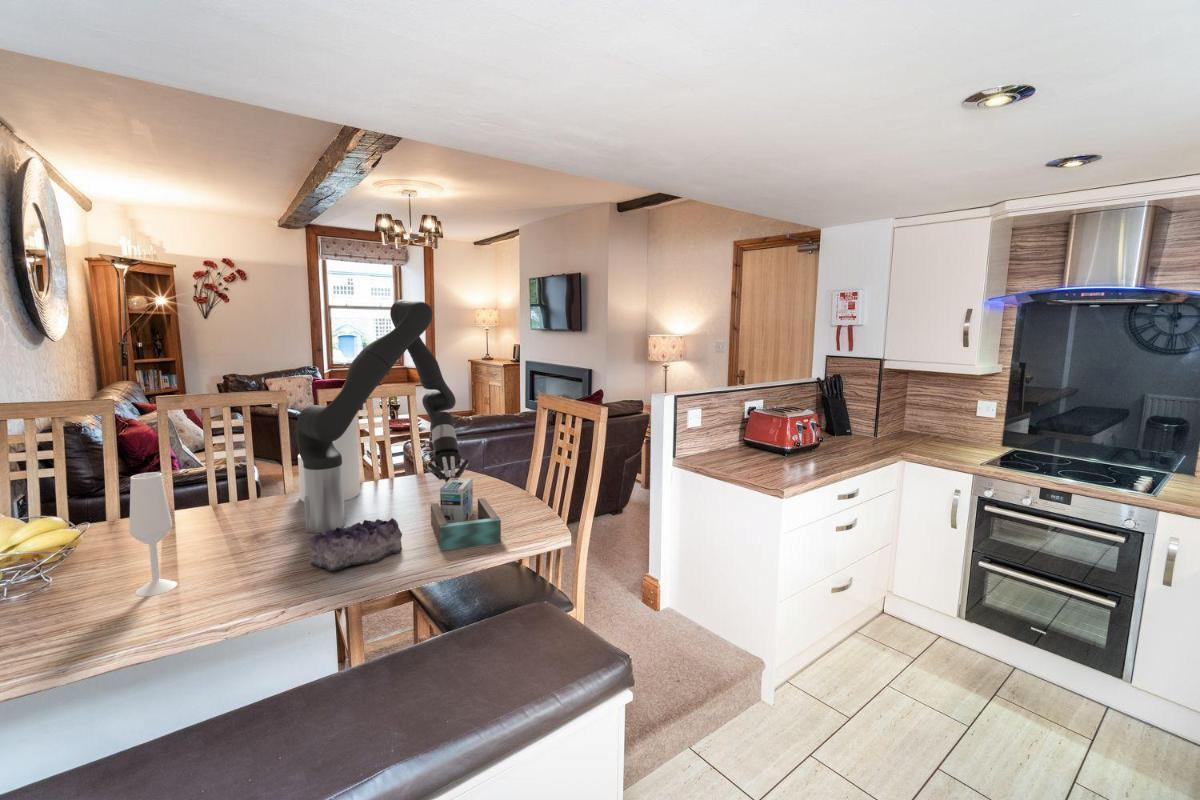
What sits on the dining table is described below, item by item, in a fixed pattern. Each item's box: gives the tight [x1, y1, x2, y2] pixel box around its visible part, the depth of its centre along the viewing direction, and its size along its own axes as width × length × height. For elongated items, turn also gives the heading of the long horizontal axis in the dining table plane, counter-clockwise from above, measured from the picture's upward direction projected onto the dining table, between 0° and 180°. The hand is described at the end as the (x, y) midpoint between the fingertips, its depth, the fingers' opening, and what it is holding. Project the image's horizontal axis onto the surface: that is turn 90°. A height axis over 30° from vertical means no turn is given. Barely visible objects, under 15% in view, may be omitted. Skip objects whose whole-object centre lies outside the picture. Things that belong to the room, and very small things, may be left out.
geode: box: [308, 517, 403, 572], centre depth 126 cm, size 20×12×10 cm, turn 134°
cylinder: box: [297, 412, 361, 503], centre depth 170 cm, size 17×17×28 cm
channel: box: [430, 497, 502, 552], centre depth 143 cm, size 15×19×6 cm
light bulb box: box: [439, 477, 474, 524], centre depth 153 cm, size 11×7×11 cm, turn 179°
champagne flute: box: [128, 471, 178, 597], centre depth 108 cm, size 7×7×24 cm
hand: (451, 489), depth 162 cm, fingers closed
